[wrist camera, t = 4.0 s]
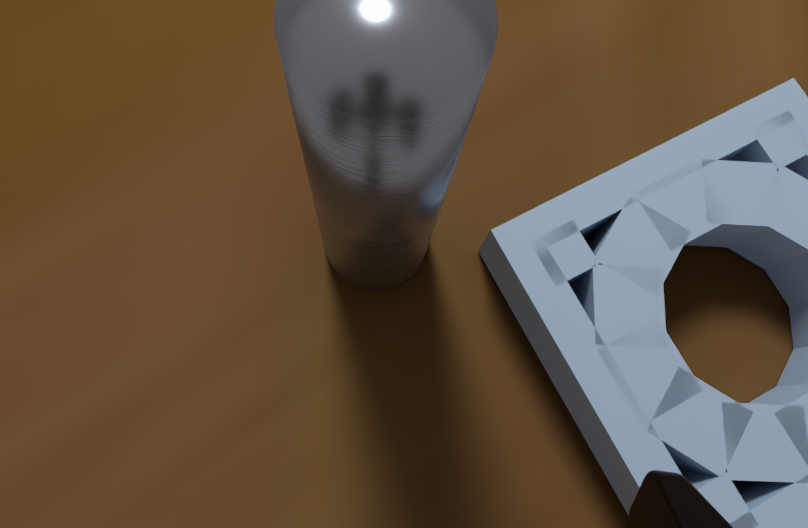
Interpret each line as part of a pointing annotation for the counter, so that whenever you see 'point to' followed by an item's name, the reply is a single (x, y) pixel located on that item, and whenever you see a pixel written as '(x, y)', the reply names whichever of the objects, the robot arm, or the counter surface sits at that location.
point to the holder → (645, 309)
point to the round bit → (382, 119)
